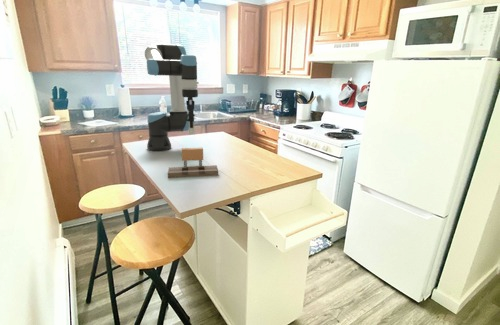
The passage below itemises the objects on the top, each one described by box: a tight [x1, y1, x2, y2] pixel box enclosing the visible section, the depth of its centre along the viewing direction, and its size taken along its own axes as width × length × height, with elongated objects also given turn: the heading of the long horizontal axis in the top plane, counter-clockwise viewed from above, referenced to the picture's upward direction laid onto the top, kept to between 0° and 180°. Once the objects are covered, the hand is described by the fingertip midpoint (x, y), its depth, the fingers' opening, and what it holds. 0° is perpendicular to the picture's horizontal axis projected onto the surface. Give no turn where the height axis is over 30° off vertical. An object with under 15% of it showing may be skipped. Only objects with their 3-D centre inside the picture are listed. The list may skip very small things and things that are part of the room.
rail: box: [167, 164, 219, 179], centre depth 133 cm, size 8×24×2 cm, turn 103°
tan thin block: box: [181, 147, 204, 167], centre depth 142 cm, size 3×11×10 cm, turn 103°
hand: (191, 131), depth 138 cm, fingers open, 13 cm apart
